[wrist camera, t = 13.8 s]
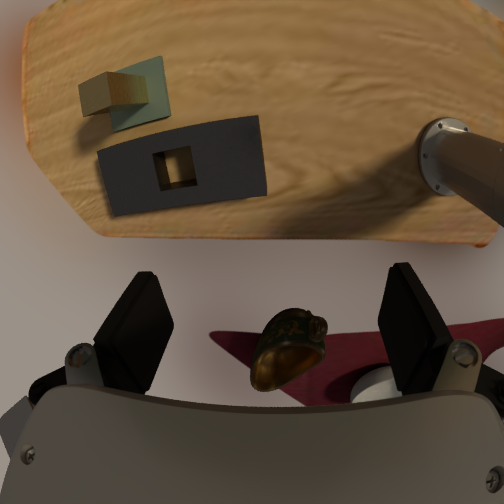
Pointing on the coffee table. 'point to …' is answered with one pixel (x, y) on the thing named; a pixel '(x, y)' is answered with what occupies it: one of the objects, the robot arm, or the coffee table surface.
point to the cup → (287, 349)
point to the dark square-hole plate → (204, 159)
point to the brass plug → (112, 93)
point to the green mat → (156, 95)
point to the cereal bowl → (375, 386)
